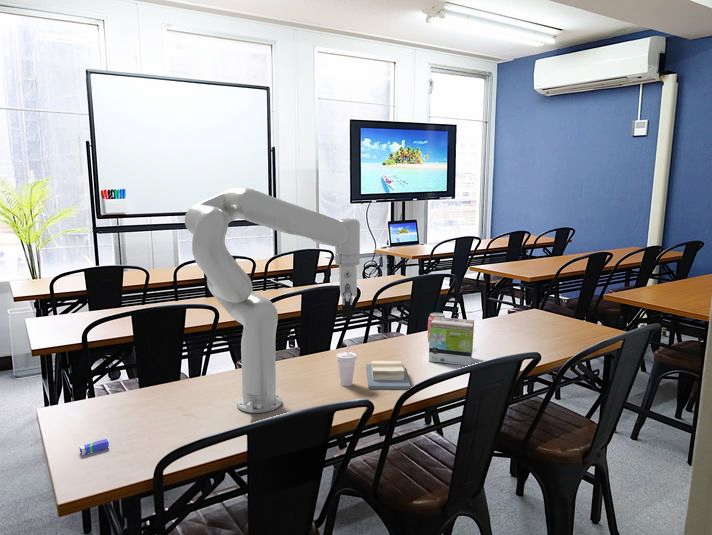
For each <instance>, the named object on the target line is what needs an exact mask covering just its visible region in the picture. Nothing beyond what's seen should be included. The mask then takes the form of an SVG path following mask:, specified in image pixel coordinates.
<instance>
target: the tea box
mask: <svg viewBox="0 0 712 535" xmlns="http://www.w3.org/2000/svg"><path fill="white" fill-rule="evenodd" d="M474 331H475V320H473V319H465V318H464V319H463V318H455V317H454V318H452V317H445V318H444V317H434V318H433V320H432V322H431V324H430V341H429V342H428V344H429V345H428V362H435V363H441V364H442V363H443V364H450V365H459V366H466V365H470V366H471V363H472V358H473V345H474V334H475V333H474ZM466 367H467V366H466Z"/></svg>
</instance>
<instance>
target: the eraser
mask: <svg viewBox="0 0 712 535" xmlns="http://www.w3.org/2000/svg"><path fill="white" fill-rule="evenodd" d="M108 447H109V439H108V438H104V439H100V440H97V441H93V442H91V443H87V444H84V445H80V446H79V447H78V448H79V453H80V452H81V453H80V455H81V456H82V455H84V454H87V455H89V454H88V453H91V452H94V453H96V452H95V451H97V452H99V451H98V450H100V451H102V450H101V449H104V450H106V449H105V448H108ZM109 448H110V447H109ZM109 448H108V449H109ZM91 454H92V453H91ZM84 456H85V455H84Z"/></svg>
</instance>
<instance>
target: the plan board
mask: <svg viewBox="0 0 712 535" xmlns="http://www.w3.org/2000/svg"><path fill="white" fill-rule="evenodd" d="M402 366H403V369H404V380H373V378H372V370H371V363H367V364H366V366H365V367H366V376H367V386H368V389H369V390H409V389H408V388H410V389H411V383H410V381H409V377H408V375H407V370H406V368H405V364H403V363H402Z"/></svg>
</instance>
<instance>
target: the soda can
mask: <svg viewBox="0 0 712 535" xmlns="http://www.w3.org/2000/svg"><path fill="white" fill-rule="evenodd" d="M434 317H444V318H446V315H445V313H442V312H431V313H429V316H428V321H427V342H428V343H429V341H430V324H431V322H432V320H433V318H434Z"/></svg>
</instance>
